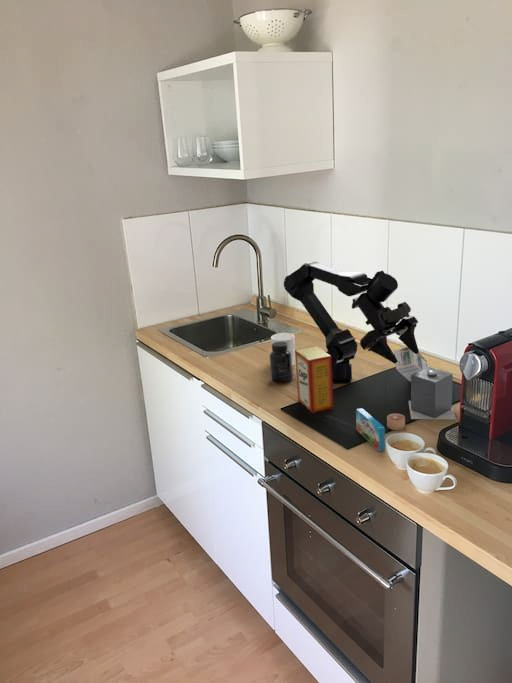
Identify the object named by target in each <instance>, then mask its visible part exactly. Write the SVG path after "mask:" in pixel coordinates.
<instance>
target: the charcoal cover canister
mask: <svg viewBox="0 0 512 683" xmlns="http://www.w3.org/2000/svg"><path fill="white" fill-rule="evenodd" d="M453 374H454V373H451V372H449V371H444V370H442V369H438V368H433V367H432V366H431V367H429V366H428V367H427V368H425V369H423V370H421V371H419V372H416V373H414V374H412V375H411V382H410V401H411V410H412V411H415V412H418V413H421V414H423V415H426V416H429V417H432V418H437V417H438V416H440V415H442V414H444V413H445V412H447V411H449V410H451V409H452V408H453V406H452V405H453V378H454V376H453Z"/></svg>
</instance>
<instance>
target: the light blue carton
mask: <svg viewBox="0 0 512 683" xmlns="http://www.w3.org/2000/svg"><path fill="white" fill-rule="evenodd" d="M355 422H356V423H355V424H356V431H357V432H358V433H359V434H360V435H361V436H362V437H363V438H364V439H365V440H366V441H367V442H368V443H369V444H370V445H372V447H374V449H376V450H377V451H378V452H382V451H385V450H386V428H385V426H384V425H383V424H381V422H379V421H378V420H377V419H375V418H374V417H373V416H372V415H371V414H370V413H368V411H366V410H365V409H364V408H362V407H360V408H356V409H355Z"/></svg>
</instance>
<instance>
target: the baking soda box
mask: <svg viewBox="0 0 512 683" xmlns="http://www.w3.org/2000/svg"><path fill="white" fill-rule="evenodd" d="M326 352H327V351H324V349H322V348H320V347H319V346H317V345H313V346H309V347H305V348H299V349H295V366H296V367H295V368H296V385H297V398H298V399H297V400H298V402H299V401H300V402H301V403H302V404H303V405H305V406H306V407H307V408H308V409H309V410H310V411H311V412H318V411H322V410H326V411H328V410H327V409H330V410H332V409H333V408H334V390H333V383H332V362H331V356H330V355H329V354H328V353H326ZM300 402H299V403H300ZM301 403H300V404H301ZM302 404H301V405H302ZM303 405H302V406H303ZM311 412H310V413H311ZM322 412H323V411H322ZM318 413H319V412H318Z"/></svg>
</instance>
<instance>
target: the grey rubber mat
mask: <svg viewBox="0 0 512 683" xmlns="http://www.w3.org/2000/svg"><path fill="white" fill-rule="evenodd" d="M408 406H409V407H408V408H409V413H410V420H457V418H456V415H455V412H454V409H453V407H452V409H451V410H449V411H447V412H445V413H444V414H442V415H440V416H438V417H437V418H432V417H429V416H426V415H423V414H421V413H418V412H415V411H412V410H411V400H408Z"/></svg>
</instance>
